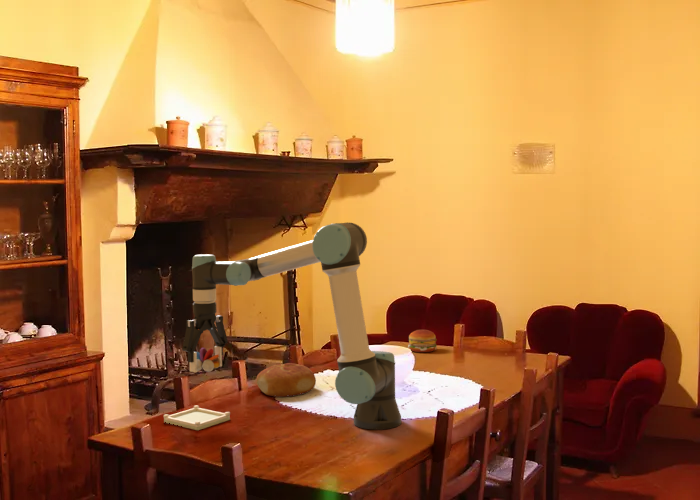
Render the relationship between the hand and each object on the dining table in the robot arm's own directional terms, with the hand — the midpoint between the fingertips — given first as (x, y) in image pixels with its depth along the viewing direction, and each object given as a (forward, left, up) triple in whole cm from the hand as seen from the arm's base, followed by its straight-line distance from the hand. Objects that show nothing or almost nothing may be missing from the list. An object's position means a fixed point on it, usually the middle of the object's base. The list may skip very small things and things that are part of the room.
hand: (206, 368), depth 256 cm
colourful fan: (0, 0, -1) cm, 1 cm away
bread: (+3, -42, -17) cm, 46 cm away
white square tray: (+1, +4, -17) cm, 17 cm away
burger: (-1, -134, -17) cm, 135 cm away
